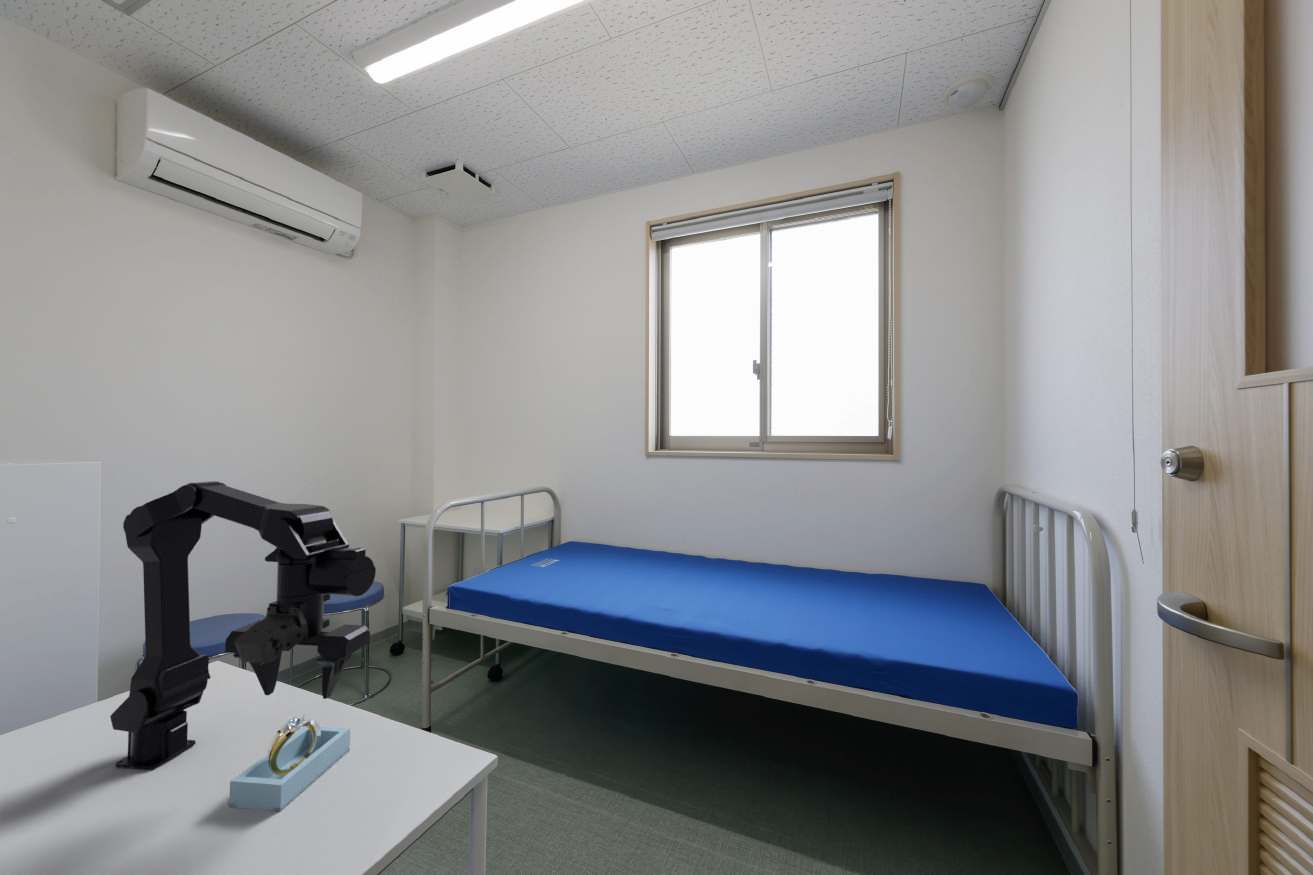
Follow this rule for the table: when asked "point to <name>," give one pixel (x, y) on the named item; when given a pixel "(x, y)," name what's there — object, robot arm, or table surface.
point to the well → (277, 791)
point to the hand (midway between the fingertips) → (298, 695)
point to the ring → (276, 746)
